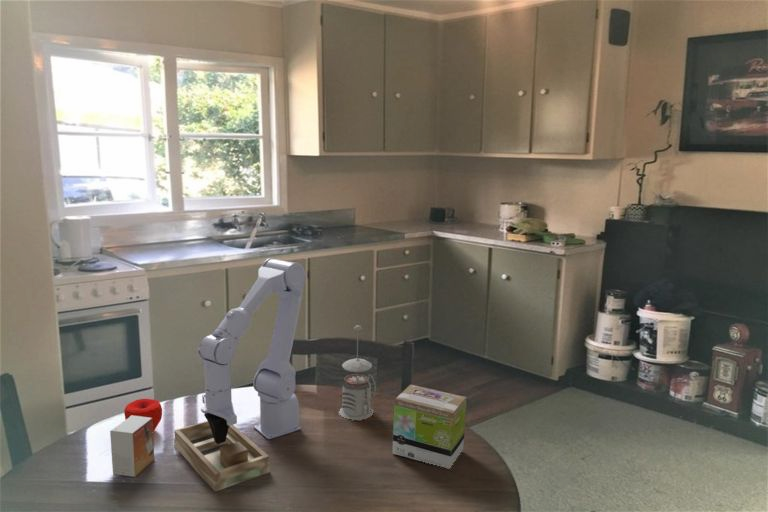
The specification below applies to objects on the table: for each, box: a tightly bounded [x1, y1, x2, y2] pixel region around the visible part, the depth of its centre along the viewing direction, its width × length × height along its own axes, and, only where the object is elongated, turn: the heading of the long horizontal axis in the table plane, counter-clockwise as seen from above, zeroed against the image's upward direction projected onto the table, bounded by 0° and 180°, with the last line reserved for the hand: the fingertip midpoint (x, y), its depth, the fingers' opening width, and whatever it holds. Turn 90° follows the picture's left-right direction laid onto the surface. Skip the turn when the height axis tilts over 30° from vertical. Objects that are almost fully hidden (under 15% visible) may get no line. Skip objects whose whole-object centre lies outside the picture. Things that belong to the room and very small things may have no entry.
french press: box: [338, 324, 377, 421], centre depth 164 cm, size 10×12×25 cm
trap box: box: [173, 420, 271, 493], centre depth 141 cm, size 13×24×4 cm, turn 39°
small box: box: [109, 415, 155, 478], centre depth 136 cm, size 8×6×10 cm
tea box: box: [392, 384, 468, 469], centre depth 145 cm, size 15×10×15 cm, turn 65°
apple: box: [123, 398, 163, 432], centre depth 152 cm, size 9×9×8 cm
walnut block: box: [220, 442, 248, 468], centre depth 135 cm, size 4×4×4 cm
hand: (220, 441), depth 141 cm, fingers closed
